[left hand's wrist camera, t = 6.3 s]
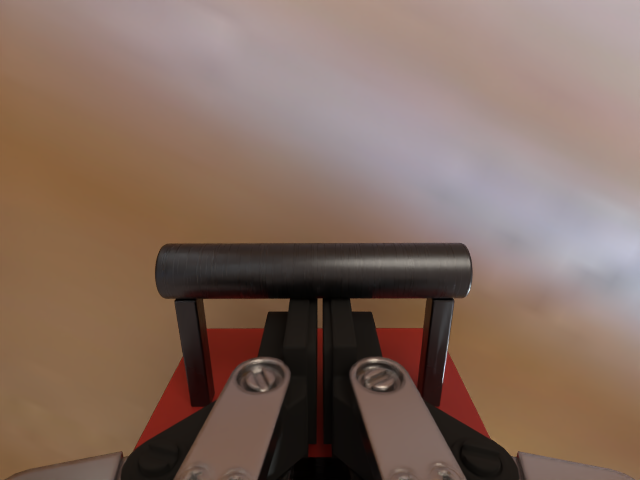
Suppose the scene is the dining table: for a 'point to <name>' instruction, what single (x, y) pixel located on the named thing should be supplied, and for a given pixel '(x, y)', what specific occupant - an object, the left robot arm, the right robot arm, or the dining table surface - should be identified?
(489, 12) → the dining table surface
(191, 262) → the drawer
